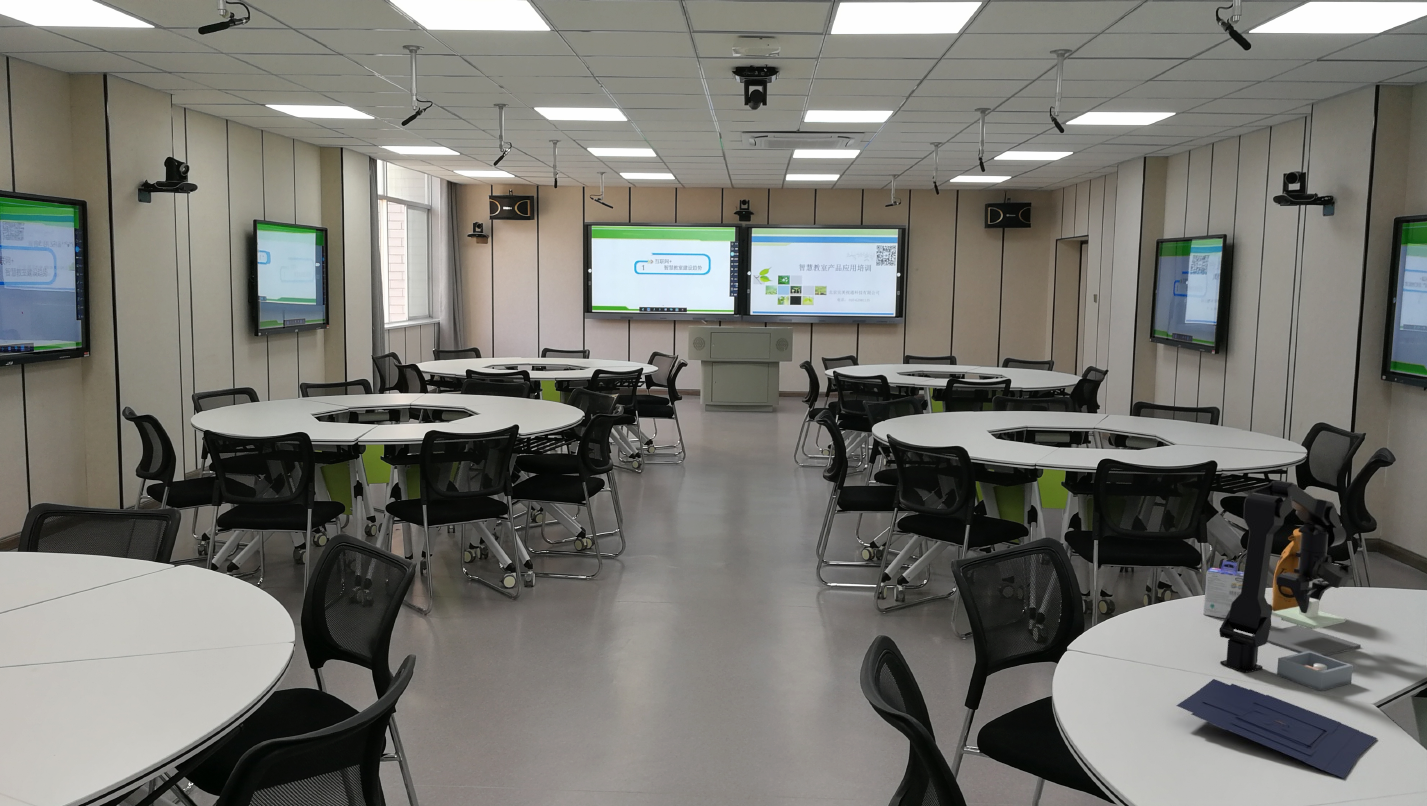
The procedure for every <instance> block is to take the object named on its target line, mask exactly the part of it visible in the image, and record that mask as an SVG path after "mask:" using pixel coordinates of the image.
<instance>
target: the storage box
mask: <svg viewBox="0 0 1427 806" xmlns="http://www.w3.org/2000/svg"><path fill="white" fill-rule="evenodd" d="M1353 667H1354V665H1352V664H1349V663H1347V662H1344V661H1341V660H1337V659H1334V658H1332V657H1328V656H1323V655H1320V654H1317V653H1314V652H1311V651H1306V652H1302V653H1294V654H1290V655H1286V656H1281V657H1278V658H1277V667H1276V670H1277V671H1276V676H1278V677H1281V678H1284V679H1286V680H1289V681H1291V682H1294V683H1297V684H1300V685H1303V686H1305V687H1308V688H1311V689H1313V690H1316V691H1319V692H1322V691H1326V690H1330V689H1334V688H1337V687H1340V686H1341V687H1342V686H1345V685H1348V684H1351V683H1352V679H1353V678H1352V677H1353Z"/></svg>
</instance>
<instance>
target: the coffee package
mask: <svg viewBox="0 0 1427 806" xmlns="http://www.w3.org/2000/svg"><path fill="white" fill-rule="evenodd" d="M1299 529H1300V528H1296V529H1294V530H1293V533H1292V534H1291V535H1290V536H1288V538H1287V539H1288V540H1289V541H1291V542H1290V543H1289V544H1288V545H1287V546H1286V547H1285V548H1284V549H1283V551H1282V552H1281V555H1280V556H1279V559H1278V561H1277V562H1276V563H1277V564H1276V567H1275V571H1274V575H1273V581H1272V604H1271V605H1272V608H1273V610H1272V612H1274V611H1279V610H1284V609H1288V608H1293V607H1298V603H1297V601H1296V599H1295V597H1294V595H1293V593H1292V591H1291V589H1290V588H1287V587H1283V586H1280V585H1276V576H1278V575H1279V574H1282V573H1288V572H1290V573H1294V569H1295V568H1298V565H1299V557H1296V556H1295V553H1296V552H1300V541H1301V533H1300V532H1298V530H1299ZM1294 574H1297V575H1299V574H1298V573H1294Z"/></svg>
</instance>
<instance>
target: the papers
mask: <svg viewBox="0 0 1427 806" xmlns="http://www.w3.org/2000/svg"><path fill="white" fill-rule="evenodd" d="M1175 706H1176V707H1178V708H1181V709H1183V710H1185V711H1188V712H1189V713H1191V714H1190V715H1192V716H1194V717H1196V718H1199V719H1201V720H1204V721H1206V722H1208V723H1209V724H1211V725H1213V726H1215V727H1219V728H1220V729H1223V730H1225V731H1228V732H1232V733H1234V734H1236V735H1239V736H1241V737H1243V738H1247V739H1249V740H1251V741H1253V742H1256V743H1258V744H1261V745H1263V746H1266V747H1268V748H1271V749H1273V750H1276V751H1278V752H1281V753H1283V754H1285V755H1288V756H1290V757H1292V758H1295V759H1297V760H1299V761H1301V762H1303V763H1305V764H1308V765H1310V766H1312V767H1315V768H1317V769H1320V770H1321V771H1325V772H1327V773H1330V774H1331V775H1334V776H1337V777H1340V778H1342V779H1345V778H1346V776H1347V774H1349V771H1350V770H1351V769H1352V766H1353V765H1354V764H1355V762H1356V761H1357V759H1358V757H1359V756H1360V755H1361V754H1363V753H1364V751H1366V749H1368V748H1369V747H1370V746H1371V745H1372V744H1373V743H1374V742H1375V741H1376V740H1377V739H1378V737H1376V736H1373V735H1370V734H1367V733H1365V732H1363V731H1360V730H1359V729H1356V728H1354V727H1352V726H1349V725H1347V724H1344V723H1342V722H1341V721H1337V720H1335V719H1333V718H1330V717H1327V716H1324V715H1323V714H1320V713H1316V712H1314V711H1312V710H1309V709H1306V708H1303V707H1301V706H1298V705H1295V704H1293V703H1290V702H1288V701H1285V700H1282V699H1279V698H1276V697H1275V696H1273V695H1272V696H1271V695H1269V694H1264V693H1261V692H1259V691H1257V690H1254V689H1251V688H1250V689H1248V688H1246V687H1242V686H1240V685H1238V684H1234V683H1231V684H1229V683H1225V682H1224V681H1221V680H1218V679H1215V678H1213V679H1211V680H1210V681H1209V682H1208V683H1206V684H1205V685H1203V686H1202V687H1201V688H1200V689H1198V690H1197V691H1196V692H1194V693H1193V694H1191V695H1189V697H1187V698H1185V699H1184V700H1182V701H1180V702H1179V703H1178V704H1177V705H1176V704H1175Z"/></svg>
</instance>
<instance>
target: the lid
mask: <svg viewBox="0 0 1427 806" xmlns="http://www.w3.org/2000/svg"><path fill="white" fill-rule="evenodd" d="M1271 616H1274V617H1276V618H1279V619H1281V620H1280V621H1282V622H1287V623H1290V624H1294V625H1295V626H1296V625H1299V626H1302V627H1305V628H1308V629H1312V630H1316V629H1321V628H1325V627H1331V626H1335V625H1337V624H1341V623H1345V622H1346V618H1345V617H1342V616H1339V615H1336V614H1335V615H1334V614H1331V613H1329V612H1328V613H1327V612H1324V611H1321V610H1320V601H1319V600H1317V599H1313V598H1310V600H1309V605H1308V609H1307V613H1302V612H1301V610H1300V608H1299V606H1298V607H1293V608H1288V609H1284V610H1279V611H1272V614H1271Z"/></svg>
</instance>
